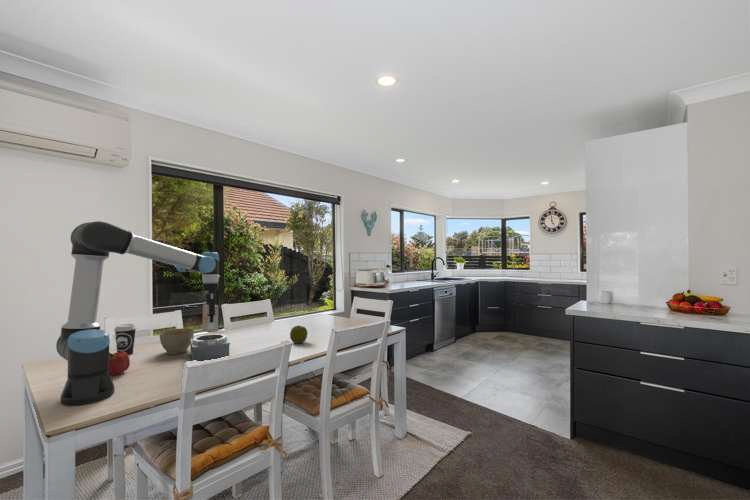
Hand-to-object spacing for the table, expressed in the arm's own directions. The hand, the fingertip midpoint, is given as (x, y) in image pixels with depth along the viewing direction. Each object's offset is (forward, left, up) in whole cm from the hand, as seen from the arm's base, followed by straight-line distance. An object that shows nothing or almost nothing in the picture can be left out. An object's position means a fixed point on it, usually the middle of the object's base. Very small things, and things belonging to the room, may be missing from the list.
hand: (210, 327), depth 175 cm
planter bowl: (+19, +14, -15) cm, 28 cm away
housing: (+2, 0, -15) cm, 15 cm away
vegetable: (-6, +38, -15) cm, 42 cm away
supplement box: (0, 0, -2) cm, 2 cm away
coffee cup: (+27, +37, -15) cm, 48 cm away
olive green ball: (+5, -48, -15) cm, 51 cm away
